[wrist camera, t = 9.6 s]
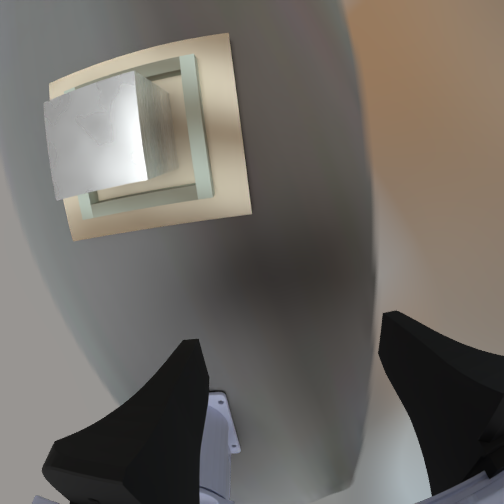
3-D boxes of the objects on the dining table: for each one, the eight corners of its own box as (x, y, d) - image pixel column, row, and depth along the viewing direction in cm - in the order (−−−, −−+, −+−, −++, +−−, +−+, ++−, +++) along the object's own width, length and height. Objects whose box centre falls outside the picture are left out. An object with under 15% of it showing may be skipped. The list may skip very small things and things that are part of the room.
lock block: (178, 168, 17) (147, 179, 11) (109, 182, 17) (56, 200, 11) (169, 93, 15) (134, 70, 10) (99, 111, 15) (43, 102, 10)
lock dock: (251, 209, 19) (252, 218, 17) (81, 236, 19) (64, 247, 17) (229, 39, 15) (227, 25, 13) (58, 85, 15) (39, 81, 13)
